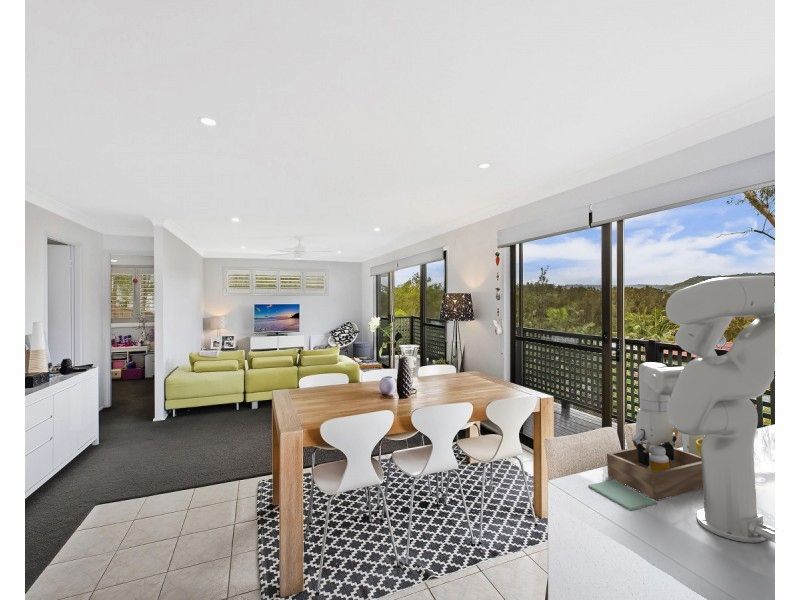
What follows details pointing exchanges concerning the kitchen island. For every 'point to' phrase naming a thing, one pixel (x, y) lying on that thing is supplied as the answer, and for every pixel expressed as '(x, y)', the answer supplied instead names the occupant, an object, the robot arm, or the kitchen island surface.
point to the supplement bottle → (658, 459)
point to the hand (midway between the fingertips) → (656, 461)
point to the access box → (657, 473)
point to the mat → (622, 494)
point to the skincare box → (691, 443)
